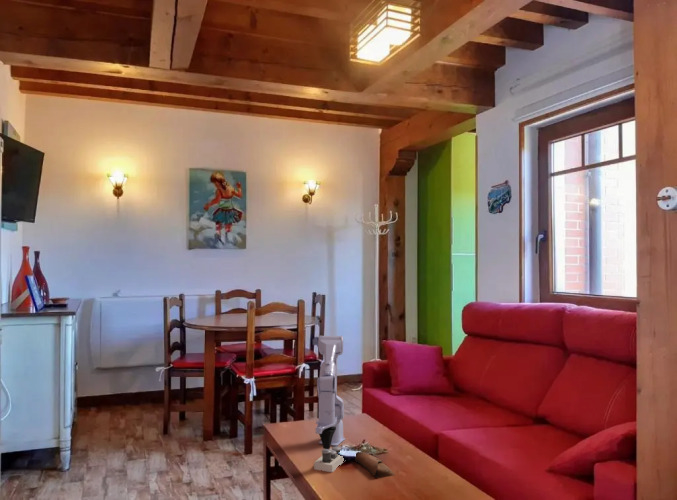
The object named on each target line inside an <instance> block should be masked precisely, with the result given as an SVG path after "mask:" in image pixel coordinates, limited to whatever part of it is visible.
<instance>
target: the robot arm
mask: <svg viewBox="0 0 677 500" xmlns="http://www.w3.org/2000/svg"><path fill="white" fill-rule="evenodd" d="M317 339H318V345H317V347H318V351H319V353H320V355H323V362H321V364H320V367H319V369H320V370H319V377H317V380H316V384H317V385H316V387H317V388H316V389H317V398H318V420H316V421H315V424H316V425H317V426H316V427H315V434H316V435H317V434H318V435H319V437H320V440H319V442H318V444H319V445H320V444H321V445H322V450H323V449H331V446H332V447H335V446H338V447H339V445H340V444H341V443H342V442H344V441H345V440H346V438H345V437H344V422H343V419H344V415H345V412H344V411H345V406H344V400H343V398H341V397H340V396H339V395H338V393H337V390H338V386H337V385H338V357H339V356H341V355H343V353H344V337H343V335H319V337H318V338H317Z"/></svg>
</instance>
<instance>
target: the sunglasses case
mask: <svg viewBox="0 0 677 500" xmlns="http://www.w3.org/2000/svg"><path fill="white" fill-rule="evenodd" d="M355 454H356V457H355V460H354V461H355V463H358V464H360V465H361V466H362V467H363V468H364V469H366V470H367V471H368V472H369V473H370V474H371V475H372V476H374V477H375V478H376V479H382V478H386V477H391V476H395V475H396V474H395V472H394V471H393V470H392V469H391V468H390V467H389V466H388V465H386V464H385V463H384V462H383V460H381V459H380V458H378V457H376V456H374V455H372V454H369V453H367V452H363V451H356V452H355Z"/></svg>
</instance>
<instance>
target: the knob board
mask: <svg viewBox="0 0 677 500" xmlns="http://www.w3.org/2000/svg"><path fill="white" fill-rule="evenodd" d="M329 449H330V450H332V449H331V448H329ZM343 461H344V458H343V456H340V455H336V458H335V459H331V461H330V462H323V461H322V455H321V456H320V457H319V458H318V459H316V460H315V461H314V462H313V470H315V471H321V470H322V472H326V473H327V472H328V473H334V471H336V468H337V467H338V466H339V465H340V466H341V465H342V464H343V463H344V462H345V461H344V462H343ZM340 466H339V467H340ZM339 467H338V468H339ZM338 468H337V469H338Z"/></svg>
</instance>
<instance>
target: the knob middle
mask: <svg viewBox="0 0 677 500" xmlns="http://www.w3.org/2000/svg"><path fill="white" fill-rule="evenodd" d="M336 453H337V452H336V451H334V450H332V452H331V459H335V458H336Z"/></svg>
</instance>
